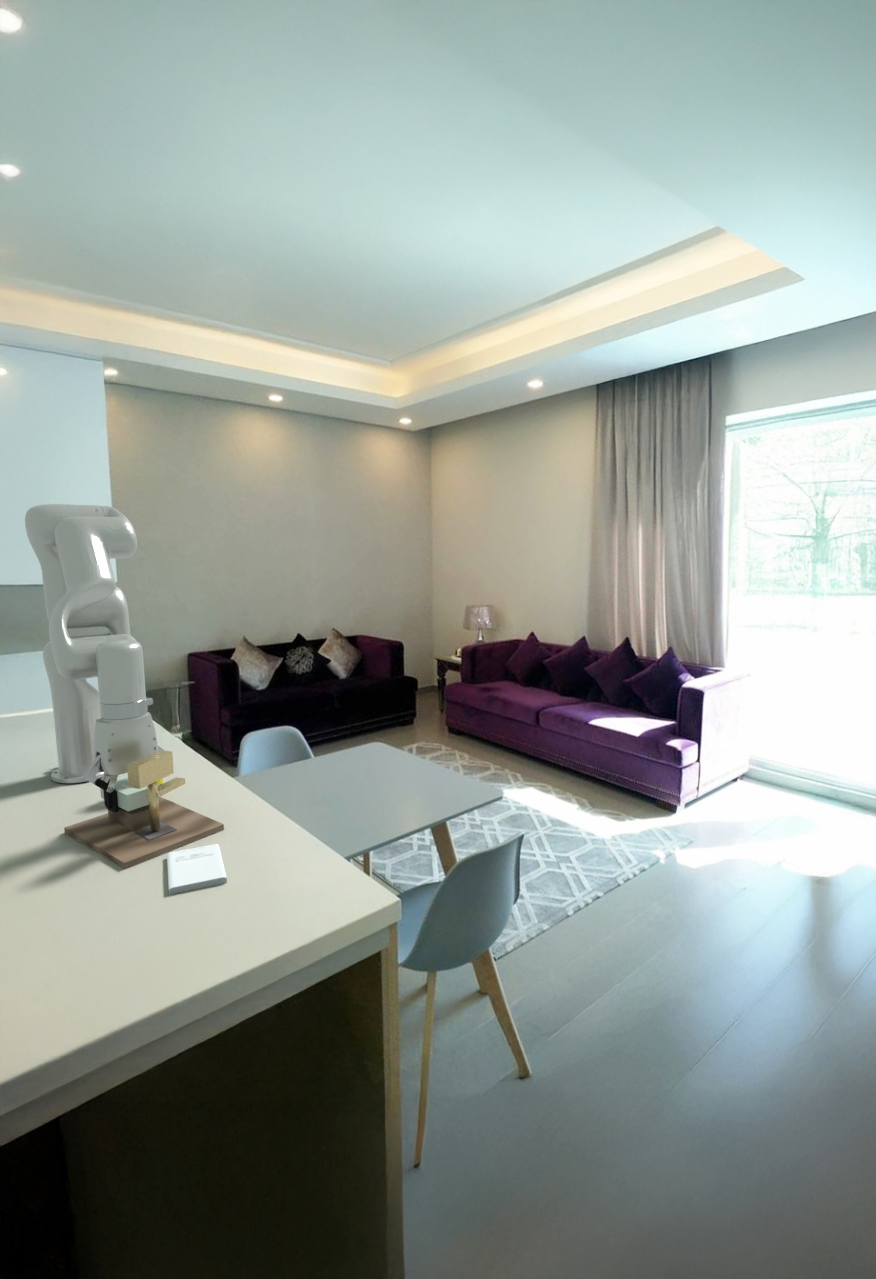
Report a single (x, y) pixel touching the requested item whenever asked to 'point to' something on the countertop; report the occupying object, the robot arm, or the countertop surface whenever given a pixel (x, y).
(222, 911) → the countertop surface
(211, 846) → the external hard drive
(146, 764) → the key
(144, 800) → the mint green block
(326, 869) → the countertop surface
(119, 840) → the base
